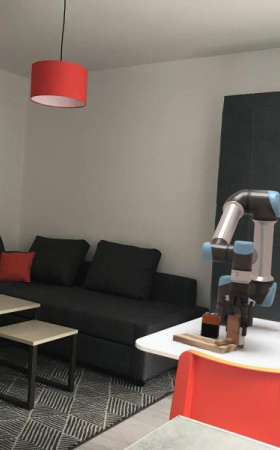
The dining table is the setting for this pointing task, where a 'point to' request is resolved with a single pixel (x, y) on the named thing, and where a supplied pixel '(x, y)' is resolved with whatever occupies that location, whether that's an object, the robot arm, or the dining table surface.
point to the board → (204, 343)
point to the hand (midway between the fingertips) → (234, 342)
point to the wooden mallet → (232, 331)
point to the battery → (210, 325)
